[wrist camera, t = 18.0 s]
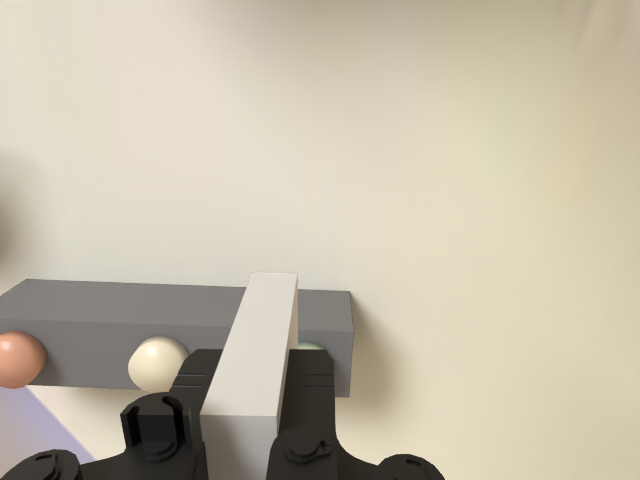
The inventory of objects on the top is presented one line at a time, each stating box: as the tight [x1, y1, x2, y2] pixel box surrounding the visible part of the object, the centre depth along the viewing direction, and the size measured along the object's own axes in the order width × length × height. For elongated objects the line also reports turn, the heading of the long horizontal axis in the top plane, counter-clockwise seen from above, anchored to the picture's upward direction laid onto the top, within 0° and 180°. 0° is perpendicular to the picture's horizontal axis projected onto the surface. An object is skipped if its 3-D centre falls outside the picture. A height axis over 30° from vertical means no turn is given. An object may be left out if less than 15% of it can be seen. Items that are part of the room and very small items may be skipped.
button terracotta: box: [0, 331, 47, 389], centre depth 41 cm, size 5×5×5 cm
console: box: [0, 279, 353, 397], centre depth 44 cm, size 34×7×8 cm, turn 88°
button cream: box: [128, 336, 189, 393], centre depth 41 cm, size 5×5×5 cm
